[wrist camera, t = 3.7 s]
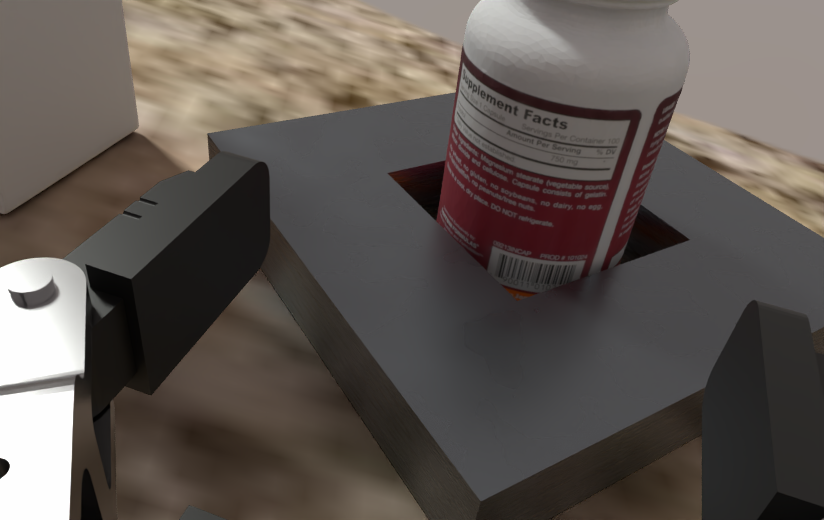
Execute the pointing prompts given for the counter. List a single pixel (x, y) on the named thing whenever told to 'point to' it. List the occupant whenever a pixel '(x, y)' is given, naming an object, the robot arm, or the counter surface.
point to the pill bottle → (557, 133)
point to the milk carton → (60, 90)
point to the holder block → (510, 312)
